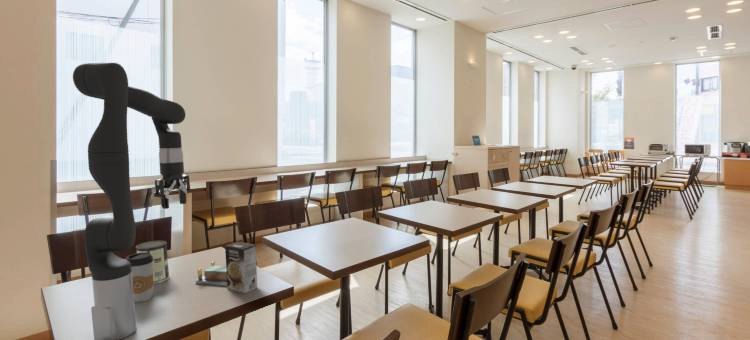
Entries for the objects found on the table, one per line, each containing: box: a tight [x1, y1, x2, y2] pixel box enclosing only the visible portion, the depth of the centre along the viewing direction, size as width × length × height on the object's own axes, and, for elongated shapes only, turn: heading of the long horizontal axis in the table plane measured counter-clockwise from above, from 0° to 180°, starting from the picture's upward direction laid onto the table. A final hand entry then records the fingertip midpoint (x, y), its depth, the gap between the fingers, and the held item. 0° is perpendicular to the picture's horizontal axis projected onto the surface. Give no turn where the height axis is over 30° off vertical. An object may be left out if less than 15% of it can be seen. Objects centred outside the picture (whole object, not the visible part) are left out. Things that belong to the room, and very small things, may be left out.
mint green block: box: [204, 265, 227, 280], centre depth 150 cm, size 10×6×3 cm, turn 84°
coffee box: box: [224, 241, 258, 294], centre depth 141 cm, size 9×6×16 cm
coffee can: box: [135, 240, 170, 285], centre depth 150 cm, size 10×10×14 cm
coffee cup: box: [125, 252, 154, 303], centre depth 134 cm, size 8×8×15 cm
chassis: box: [195, 260, 227, 287], centre depth 150 cm, size 11×14×5 cm
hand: (174, 206), depth 141 cm, fingers open, 8 cm apart
